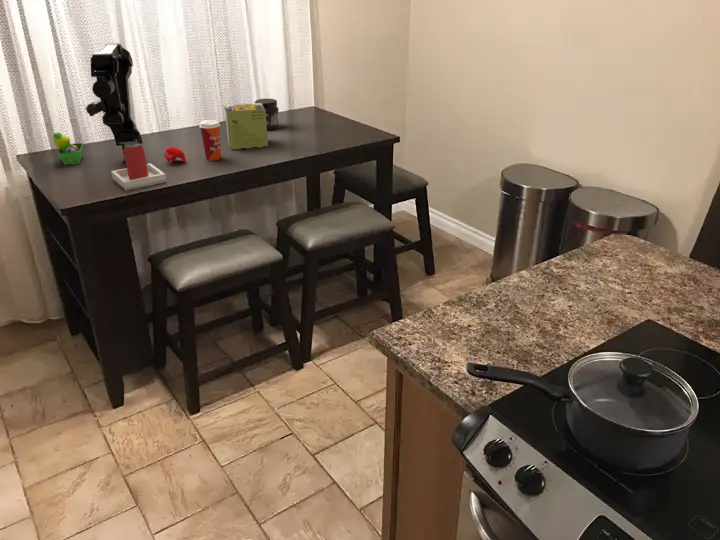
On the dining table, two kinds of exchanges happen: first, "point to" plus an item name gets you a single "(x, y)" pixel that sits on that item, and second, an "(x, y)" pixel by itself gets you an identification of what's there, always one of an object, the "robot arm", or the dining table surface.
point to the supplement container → (270, 112)
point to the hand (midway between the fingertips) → (118, 137)
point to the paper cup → (211, 139)
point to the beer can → (135, 160)
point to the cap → (174, 154)
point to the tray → (153, 178)
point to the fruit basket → (68, 149)
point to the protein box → (246, 125)
